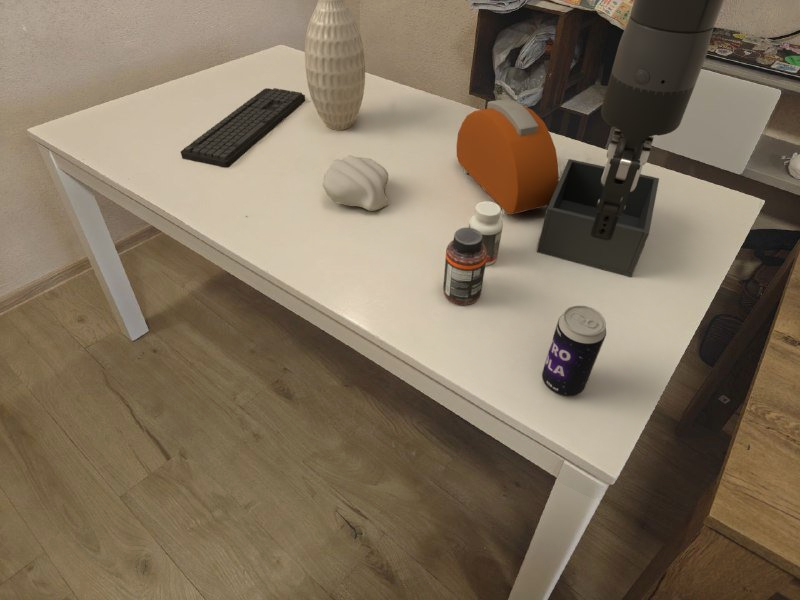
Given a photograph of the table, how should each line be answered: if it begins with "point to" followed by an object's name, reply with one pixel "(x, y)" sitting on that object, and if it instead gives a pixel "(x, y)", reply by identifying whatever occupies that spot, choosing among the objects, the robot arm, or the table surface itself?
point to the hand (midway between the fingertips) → (606, 216)
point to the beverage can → (574, 350)
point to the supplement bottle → (464, 267)
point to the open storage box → (576, 215)
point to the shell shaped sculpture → (357, 182)
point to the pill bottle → (488, 227)
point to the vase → (335, 64)
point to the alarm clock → (509, 155)
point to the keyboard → (243, 128)
